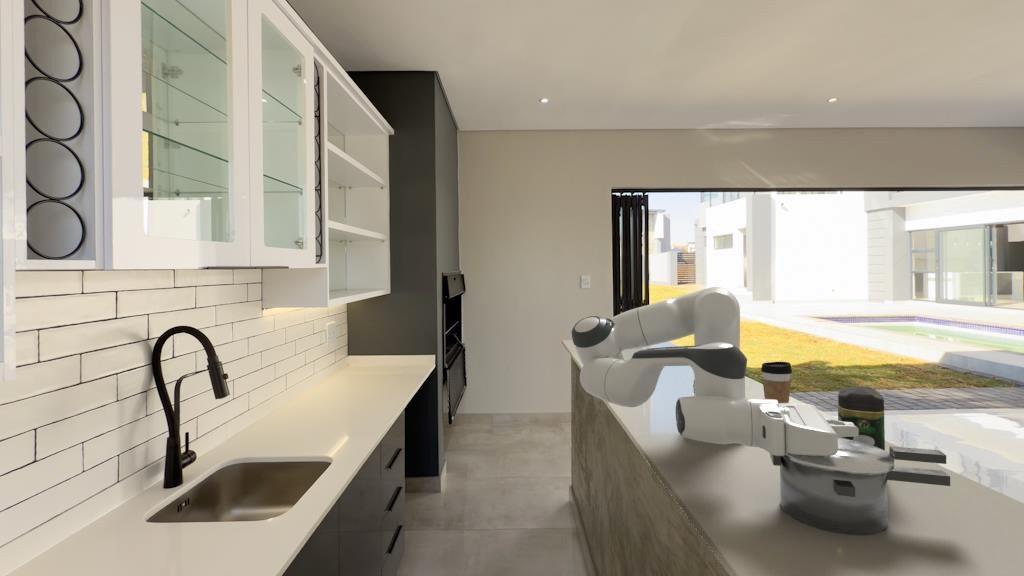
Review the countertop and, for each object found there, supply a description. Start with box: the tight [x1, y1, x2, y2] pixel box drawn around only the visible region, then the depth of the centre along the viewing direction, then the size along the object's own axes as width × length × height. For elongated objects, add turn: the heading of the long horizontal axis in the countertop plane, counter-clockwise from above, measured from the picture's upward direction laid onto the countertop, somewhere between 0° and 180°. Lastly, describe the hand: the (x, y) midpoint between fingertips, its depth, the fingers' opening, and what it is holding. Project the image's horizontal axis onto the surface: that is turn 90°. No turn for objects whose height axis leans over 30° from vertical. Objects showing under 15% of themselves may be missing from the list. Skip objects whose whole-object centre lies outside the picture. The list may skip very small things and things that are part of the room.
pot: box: [769, 453, 951, 536], centre depth 89 cm, size 22×26×10 cm
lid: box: [784, 438, 947, 475], centre depth 88 cm, size 17×24×2 cm
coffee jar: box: [837, 385, 886, 451], centre depth 104 cm, size 10×8×19 cm
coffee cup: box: [760, 361, 793, 403], centre depth 154 cm, size 8×8×15 cm
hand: (856, 429), depth 88 cm, fingers closed
